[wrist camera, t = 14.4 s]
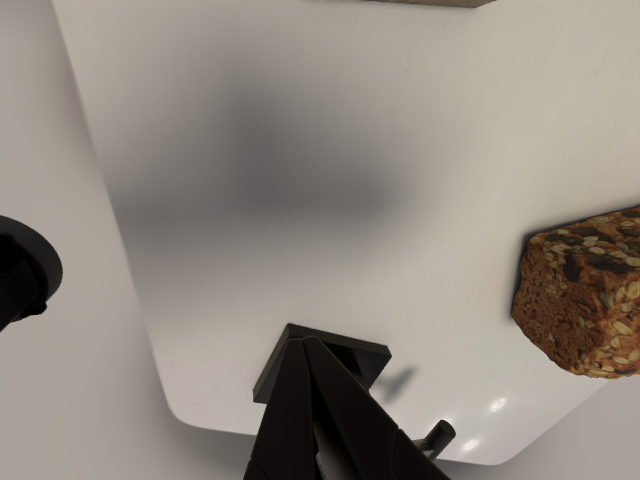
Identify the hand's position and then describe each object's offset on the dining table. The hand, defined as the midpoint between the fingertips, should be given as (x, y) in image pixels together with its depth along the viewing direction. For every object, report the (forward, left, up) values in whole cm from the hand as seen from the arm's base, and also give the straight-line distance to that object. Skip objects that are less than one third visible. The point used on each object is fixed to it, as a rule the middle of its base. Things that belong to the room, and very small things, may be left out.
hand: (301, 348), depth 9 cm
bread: (+30, -7, -13) cm, 34 cm away
